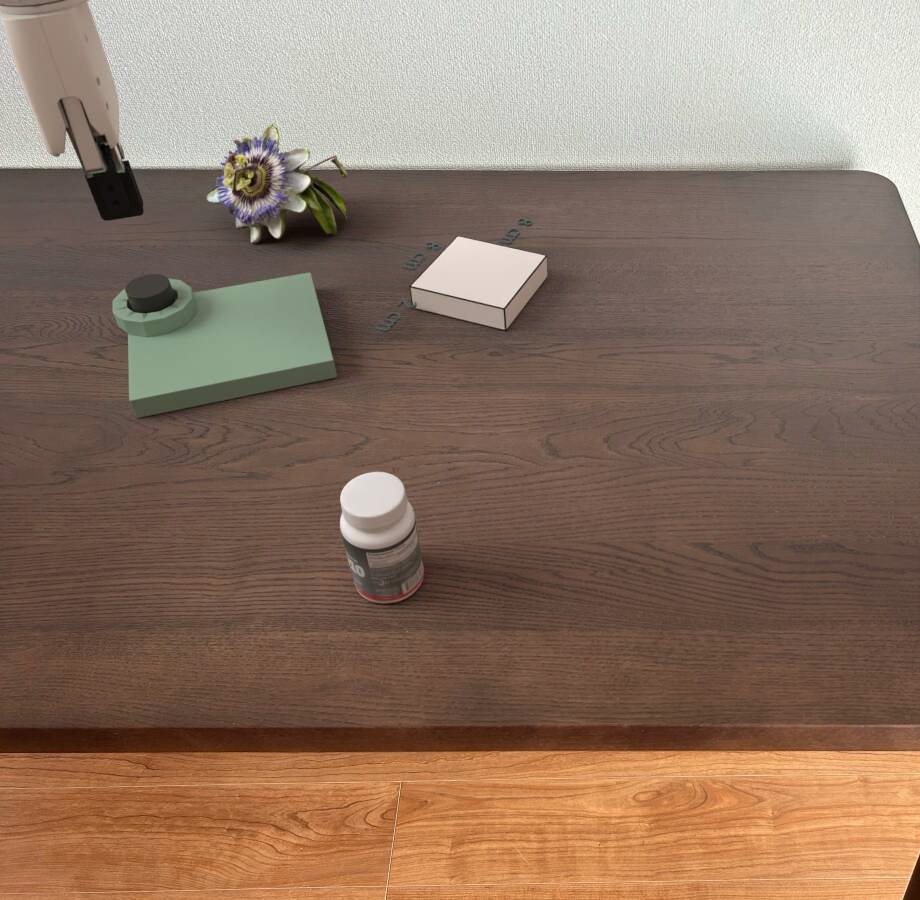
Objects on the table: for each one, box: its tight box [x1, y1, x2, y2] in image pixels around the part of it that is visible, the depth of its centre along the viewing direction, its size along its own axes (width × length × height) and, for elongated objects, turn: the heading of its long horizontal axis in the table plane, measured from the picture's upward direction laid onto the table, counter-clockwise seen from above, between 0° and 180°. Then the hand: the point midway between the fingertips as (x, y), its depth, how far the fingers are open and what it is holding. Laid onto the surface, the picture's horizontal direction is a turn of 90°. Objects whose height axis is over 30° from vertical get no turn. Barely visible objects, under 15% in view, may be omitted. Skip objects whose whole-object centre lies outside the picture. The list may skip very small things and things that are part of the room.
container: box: [374, 217, 549, 333], centre depth 91 cm, size 20×11×3 cm, turn 159°
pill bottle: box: [339, 471, 425, 604], centre depth 63 cm, size 5×5×8 cm
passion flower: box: [205, 123, 348, 244], centre depth 97 cm, size 11×11×12 cm
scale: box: [112, 271, 338, 419], centre depth 83 cm, size 17×15×4 cm
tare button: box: [124, 273, 175, 314], centre depth 83 cm, size 4×4×2 cm
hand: (123, 212), depth 78 cm, fingers closed
